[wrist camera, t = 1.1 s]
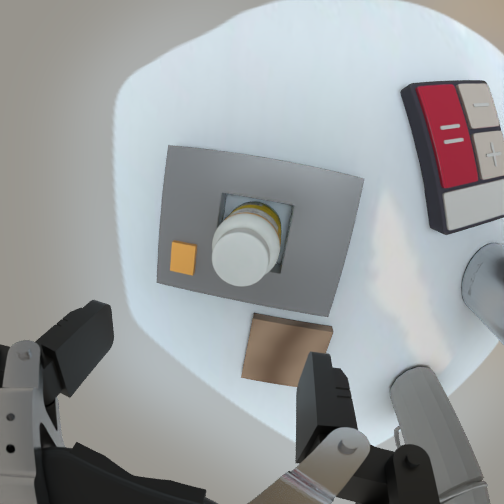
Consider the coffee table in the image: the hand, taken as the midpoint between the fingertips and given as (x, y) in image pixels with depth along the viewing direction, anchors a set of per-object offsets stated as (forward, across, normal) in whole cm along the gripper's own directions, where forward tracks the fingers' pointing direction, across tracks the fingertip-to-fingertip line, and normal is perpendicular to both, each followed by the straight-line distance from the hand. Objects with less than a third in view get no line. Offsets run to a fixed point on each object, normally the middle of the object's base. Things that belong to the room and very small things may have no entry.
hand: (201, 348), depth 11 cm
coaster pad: (+20, -6, +14) cm, 25 cm away
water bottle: (+20, -25, +18) cm, 37 cm away
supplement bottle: (+20, 0, 0) cm, 20 cm away
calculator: (+20, -20, -13) cm, 31 cm away
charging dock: (+20, 0, 0) cm, 20 cm away
